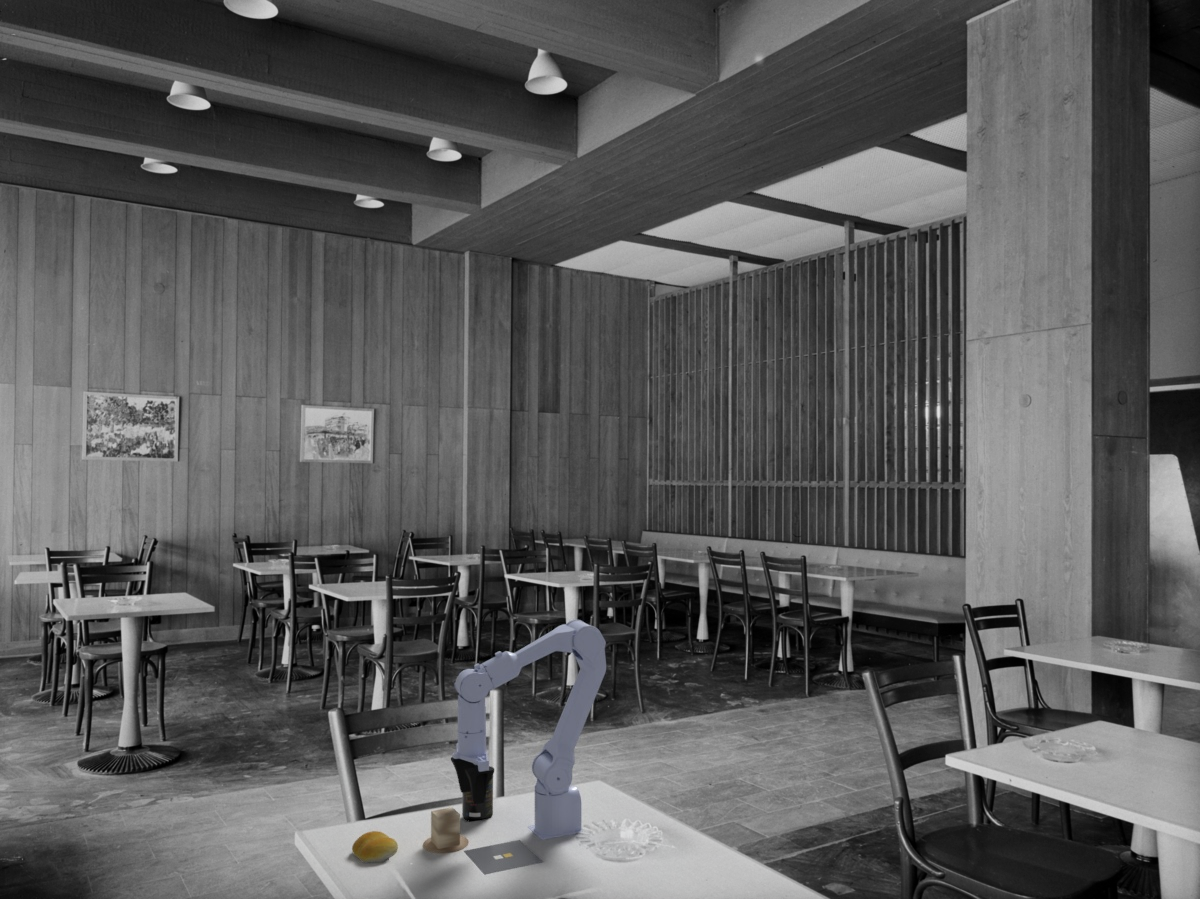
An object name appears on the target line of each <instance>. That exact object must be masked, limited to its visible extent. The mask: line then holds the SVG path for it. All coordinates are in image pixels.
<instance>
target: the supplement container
mask: <svg viewBox="0 0 1200 899" xmlns="http://www.w3.org/2000/svg"><path fill="white" fill-rule="evenodd" d="M489 767H491V765H489ZM461 793H462V792H461ZM461 796H462V803H461V806H462V808H461V810H462V812H461V813H462V814H461V816H462V818H463V820H464V821H466V822H468V823H470V822H471V823H473V822H477V821H485V820H488V819H489V820H490V819H491V818H493V815H494V774H493V775H492V777H491V779H490V781H489V784H488V788H487V792H486V797H485V801H484V803H480V804H474V803H473V800H472V794H471V791H469V792H463V793H462V794H461Z"/></svg>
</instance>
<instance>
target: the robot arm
mask: <svg viewBox="0 0 1200 899" xmlns="http://www.w3.org/2000/svg"><path fill="white" fill-rule="evenodd" d="M606 645H607V642H606V640H605V638H604V636H603V634H602V633H601V631H600V629H598V628H597V627H596V626H594V625H590V624H588V623H586V622H584V621H583V620H581V619H573V620H570V621H567V623H566V624H565V623H563V624H561V625H560V624H559V625H558V626H557V627H555V628H554V629H553V630H551V631H549V632H548V633H545V634H544V635H542V636H541V637H539V638H537V639H536V640H534V641H532V642H531V643H529V644H527V645H526V646H524V647H522V648H521V649H519V650H517V651H515V652H511V651H507V650H505V651H503V652H502V651H500V650H499V651H497V652H495V653H494V655H495V656H493V657H492V658H490V659H488V660H486V661H484V662H482V663H478V662H477V663H476V664H474V665H473V666H474V668H466V669H464V670H462V671H461V672H459V674H458V676H457V677H456V679H455V682H454V684H453V685H454V688H455V691H456V693H457V694H458V695H457V697H458V698H457V743H456V744H455V750H456V751H455V752H452V754H451V757H450V761H451V763H452V765H453V767H454V770H455V773H456V777H457V781H458V786H459V789H460V793H463V792H469V791H471V794H472V800H473V803H474V804H480V803H484V801H485V797H486V792H487V788H488V784H489V781H490V779H491V777H492V775H493V776H494V774H495V768H494V767H493V766H490V760H489V759H488V750H487V720H486V719H487V717H486V716H487V715H486V714H487V707H486V697H487V696H488V694H489V692H490V691H493V690H495V689H496V688H499V687H500V686H502V685H504V684H506V683H508V682H509V681H511V680H513V679H515V678H518V677H519V674H520V672H521V671H522V668H524V667H525V666H527V665H530V664H532V663H534V662H536V661H537V660H540V659H542V658H545V657H546V656H548V655H550V654H552V653H555V652H563V653H572V654H573V655H574V658H575V660H576V661H577V664H578V667H579V670H578V674H577V675H576V679H575V680H574V683H573V684H572V685H573V686H572V688H571V691H570V693H569V695H568V698H567V700H566V703H565V705H564V707H563V709H562V713H561V715H560V717H559V719H558V722H557V724H556V727H555V730H554V731H553V734H552V737H551V738H550V739H549V740H548V741H547V742H545V743H544V745H543V748H542V750H541V751H540V752H539V753H538V754H537V755H536V756H535V757H534V759H533V761H532V764H531V770H532V774H533V776H534V777H535V778H536V783H535V785H534V824H533V825H528V826H527V828H528V829H529V830H530V831H531V832H532V833H533V834H534V835H536V836H537V837H538V838H539V839H540V840H547V839H553V838H557V837H562V836H569V835H573V834H574V835H575V834H579V833H583V829H582V796H581V793H580V790H579V788H578V787H577V786H575V785H571V784H572V781H573V768H574V765H575V764H576V763H575V762H576V760H575V749H576V746H577V744H578V741H579V738H580V736H581V734H582V731H583V728H584V726H585V724H586V721H587V718H588V717H589V714H590V711H591V710H592V706H593V704H594V702H595V699H596V697H597V695H598V692H599V689H600V687H601V684H602V682H603V679H604V677H605V674H606V671H607V660H606V658H607V657H606ZM489 766H490V767H489Z"/></svg>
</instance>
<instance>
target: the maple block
mask: <svg viewBox="0 0 1200 899" xmlns="http://www.w3.org/2000/svg"><path fill="white" fill-rule="evenodd" d="M430 812H431V813H430V820H431V821H430V824H431V825H430V830H431V831H430V838H431V841H432V843H433V844H434V845H435V846H436V847H437V848H438V849H441V848H446V847H450V846H455V845H460V835H461V814H460V812H458V810H456V808H454V807H453V806H452V807H446V808H441V809H436V810H431V811H430Z"/></svg>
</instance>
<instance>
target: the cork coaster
mask: <svg viewBox="0 0 1200 899" xmlns="http://www.w3.org/2000/svg"><path fill="white" fill-rule="evenodd" d="M469 842H470V840H469V839H468V838H467V837H466V836H464V835H461V834H460V845H455V846H450V847H446V848H441V849H438V848H437V847H436V846H435V845H434V844H433V843H432V841H431V837H429V838H427V839H425V840H424V841H423V844H422V846H423V849H424V850H426V851H428V852H430V853H435V854H450V853H456V852H460V851H461V850H464V849H465V848H467V847H468V846H469Z"/></svg>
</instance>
